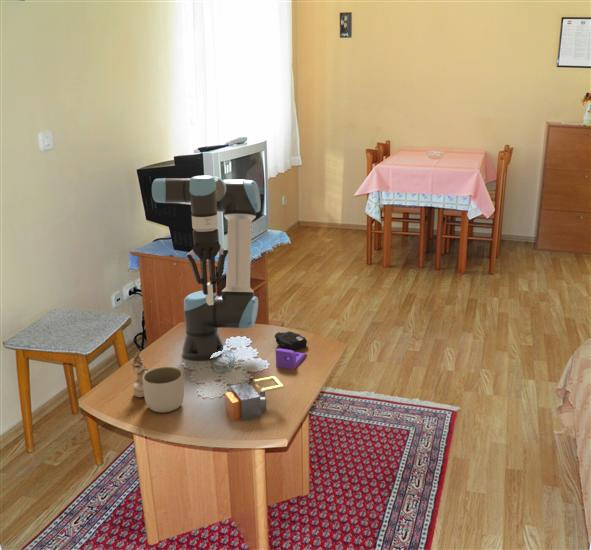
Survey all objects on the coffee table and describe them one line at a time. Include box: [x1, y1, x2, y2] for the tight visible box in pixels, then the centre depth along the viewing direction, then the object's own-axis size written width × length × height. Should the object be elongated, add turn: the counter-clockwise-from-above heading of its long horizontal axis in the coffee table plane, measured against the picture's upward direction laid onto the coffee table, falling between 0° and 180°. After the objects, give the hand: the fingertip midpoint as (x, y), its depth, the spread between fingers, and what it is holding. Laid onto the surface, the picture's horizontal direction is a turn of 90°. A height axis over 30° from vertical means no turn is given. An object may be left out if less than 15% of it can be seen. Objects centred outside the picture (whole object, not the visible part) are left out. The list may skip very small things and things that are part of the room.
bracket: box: [275, 347, 307, 370], centre depth 236 cm, size 12×7×7 cm, turn 157°
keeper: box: [251, 375, 285, 393], centre depth 203 cm, size 8×1×8 cm
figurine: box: [130, 352, 149, 398], centre depth 213 cm, size 7×7×15 cm
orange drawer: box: [224, 391, 267, 421], centre depth 202 cm, size 11×7×6 cm, turn 114°
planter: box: [142, 366, 185, 414], centre depth 205 cm, size 12×12×11 cm
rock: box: [274, 331, 308, 352], centre depth 247 cm, size 10×9×6 cm
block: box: [230, 376, 266, 422], centre depth 202 cm, size 11×8×8 cm
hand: (210, 303), depth 201 cm, fingers closed
